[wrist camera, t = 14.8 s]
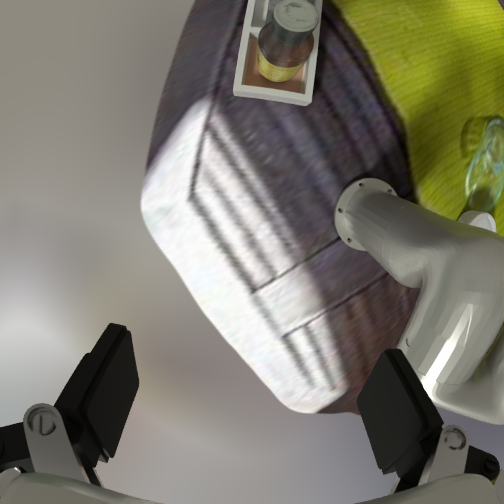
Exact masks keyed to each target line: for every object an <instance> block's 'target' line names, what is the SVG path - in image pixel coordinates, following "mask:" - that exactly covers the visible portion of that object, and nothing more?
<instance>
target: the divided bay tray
mask: <svg viewBox="0 0 504 504" xmlns="http://www.w3.org/2000/svg"><path fill="white" fill-rule="evenodd" d="M268 2H269V0H249V1H248V6H247V11H246V16H245V22H244V27H243V32H242V38H241V44H240V50H239V56H238V62H237V68H236V74H235V81H234V87H233V92H234V96H243V97H252V98H259V99H267V100H274V101H280V102H286V103H292V104H297V105H303V106H307V105H308V104H310V103H311V101H312V93H313V86H314V77H315V69H316V60H317V51H318V42H319V32H320V22H321V11H322V0H307V2H309V3H311V4H312V5H313V6H314V7H315V8H316V10H317V12H318V14H319V22H318V24H317V26H316V28H315V30H314V31H313V32H312V33H313V36H314V47H313V50H312V52H311V53H310V55H309V57H308V59H307V60H306V61H305V63H304V64H303V66H302V67H301V68H300V70H299V71H298V72H297V74H296V75H295V76H294V77H293V78H291V79H289V80H287V81H286V82H273V81H269V80H267V79H266V78H264V77H263V75H261V73H260V72H259V70H258V68H257V63H256V61H257V45H258V35H259V32H260V30H261V29H262V28H263V27H264V26H265V22H266V15H267V9H268Z"/></svg>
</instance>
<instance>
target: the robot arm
mask: <svg viewBox="0 0 504 504" xmlns="http://www.w3.org/2000/svg"><path fill="white" fill-rule="evenodd" d="M359 183H361V185H359ZM388 190H389V191H388ZM339 208H340V210H339V211H338V209H339ZM334 224H335V227H336V230H337V232H338V234H339V236H340V237H341V239H342V240H343V241H344V242H345V243H346V244H347V245H349V246H350V247H352V248H354V249H357V250H362V251H368V252H369V253H370V254H371V255H372V256H373V257H374V258H375V259H376V260H377V261H378V262H379V263H380V264H381V265H382V267H383V268H384V269H385V270H386V271H387V272H388V273H389V274H390V275H391V276H392V277H393V278H394V279H396V280H397V281H398V282H399V283H401V284H403V285H405V286H408V287H412V288H421V291H420V294H419V296H418V299H417V301H416V306H415V308H414V310H413V313H412V315H411V317H410V320H409V322H408V324H407V326H406V329H405V331H404V333H403V335H402V337H401V339H400V341H399V343H398V346H397V348H396V349H386V350H385V351H384V353H382V354H381V355H380V357H379V359H378V361H377V363H376V364H375V366H374V368H373V370H372V372H371V374H370V376H369V378H368V380H367V381H366V383H365V385H364V387H363V389H362V390H361V392H360V394H359V395H358V398H357V405H358V408H359V411H360V414H361V417H362V420H363V423H364V425H365V429H366V431H367V434H368V437H369V440H370V443H371V447H372V450H373V453H374V456H375V459H376V462H377V465H378V468H379V469H382V472H383V475H384V474H388V473H392V472H395V471H396V472H397V477H396V479H395V482H394V484H393V486H392V488H391V490H390V492H389V494H388V496H384V497H381V498H377V499H373V500H369V501H365V502H360V503H356V504H504V470H503V469H501V470H500V466H499V462H498V460H497V459H496V457H495V456H493V455H492V454H489V453H487V452H484V451H482V450H480V449H477V448H475V447H473V446H470V445H469V438H468V435H467V433H466V432H465V430H464V429H462V428H461V427H459V426H457V425H448V426H446V427H445V428H444V429H443V428H442V425H443V424H444V422H443V420H442V418H441V416H440V415H439V413H438V411H437V409H436V407H435V406H438V407H441V408H444V409H447V410H450V411H452V412H456V413H458V414H461V415H464V416H468V417H471V418H474V419H477V420H481V421H484V422H487V423H492V424H504V326H503V328H502V330H501V332H500V334H499V336H498V338H497V339H496V341H495V343H494V345H493V346H492V348H491V350H490V351H489V353H488V354H487V355H485V354H486V352H487V350H488V349H489V347H490V345H491V344H492V343H493V341H494V339H495V338H496V336H497V334H498V332H499V330H500V328H501V326H502V324H503V322H504V237H503V236H501V235H499V234H497V233H495V232H493V231H490V230H488V229H484V228H481V227H477V226H473V225H469V224H465V223H461V222H458V221H455V220H452V219H449V218H446V217H444V216H441V215H439V214H437V213H435V212H432V211H430V210H428V209H425V208H423V207H421V206H418V205H416V204H414V203H412V202H409V201H407V200H404V199H402V198H400V197H398V196H397V194H396V192H395V191H394V189H393V188H392V187H391V186H390V185H389V184H387V183H386V182H384V181H382V180H379V179H376V178H362V179H358V180H356V181H354V182H352V183H351V184H349V185H348V186H347V187H346V188H345V189H344V190H343V191H342V192H341V194H340V195H339V197H338V199H337V202H336V205H335V209H334ZM348 238H349V240H347V239H348ZM133 350H134V349H133V343H132V337H131V332H130V331H128V330H127V328H126V326H123V325H119V324H114V323H110V324H109V325H108V326H107V328H106V330H105V331H104V332H103V334H102V335H101V337H100V338H99V340H98V341H97V343H96V345H95V346H94V348H93V349H92V351H91V352H90V353H87V354H85V356H84V357H83V358H82V360H81V361H80V363H79V364H78V366H77V368H76V369H75V371H74V373H73V374H72V376H71V377H70V379H69V381H68V382H67V384H66V386H65V387H64V389H63V391H62V392H61V394H60V396H59V397H58V399H57V401H56V403H55V404H54V406H51V405H49V404H45V403H41V404H36V405H33V406H32V407H30V408H29V409H28V410H27V411H26V413H25V415H24V418H23V422H20V423H16V424H12V425H9V426H4V427H0V504H162V503H158V502H153V501H149V500H144V499H140V498H136V497H132V496H128V495H125V494H122V493H118V492H115V491H112V490H108V489H105V488H104V485H103V484H102V482H101V480H100V478H99V476H98V474H97V472H96V470H95V467H96V465H97V462H98V460H99V461H102V462H105V463H107V462H108V460H109V457H110V458H113V457H114V455H115V452H116V450H117V446H118V444H119V441H120V438H121V434H122V431H123V429H124V426H125V423H126V420H127V417H128V415H129V412H130V409H131V407H132V404H133V401H134V398H135V396H136V393H137V390H138V387H139V377H138V372H137V367H136V361H135V356H134V351H133Z"/></svg>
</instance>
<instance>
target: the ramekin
mask: <svg viewBox="0 0 504 504" xmlns="http://www.w3.org/2000/svg"><path fill="white" fill-rule="evenodd" d="M457 221H458V222H461V223H465V224H469V225H473V226H477V227H481V228H484V229H488V230H490V231H493V232H495V233H496V224H495V221H494V219H493V217H492V216H491V215H490V214H489V213H487V212H483V211H482V212H479V211H474V210H470V211H467V212H465V213H463V214H462V215H461V216H460V217H459V219H458V220H457Z"/></svg>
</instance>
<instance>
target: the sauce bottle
mask: <svg viewBox="0 0 504 504" xmlns="http://www.w3.org/2000/svg"><path fill="white" fill-rule="evenodd" d="M271 17H272V21H271V22H269V23H268V24H266V25H265V26H264V27H263V28H262V29H261V30H260V32H259V35H258V45H257V61H256V63H257V68H258V70H259V72H260V73H261V75H263V77H264V78H266V79H267V80H269V81H273V82H286V81H287V80H289V79H291V78H293V77H294V76H295V75H296V74H297V72H298V71H299V70H300V68H301V67H302V66H303V64H304V63H305V61H306V60H307V59H308V57H309V55H310V53H311V52H312V50H313V47H314V36H313V33H312V32H313V31H314V30H315V28H316V26H317V24H318V22H319V14H318V12H317V10H316V8H315V7H314V6H313V5H312V4H311V3H309V2H307V1H306V0H281V1H280V2H278V3H277V4H276V5H275V7H274V9H273V12H272V16H271Z"/></svg>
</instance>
